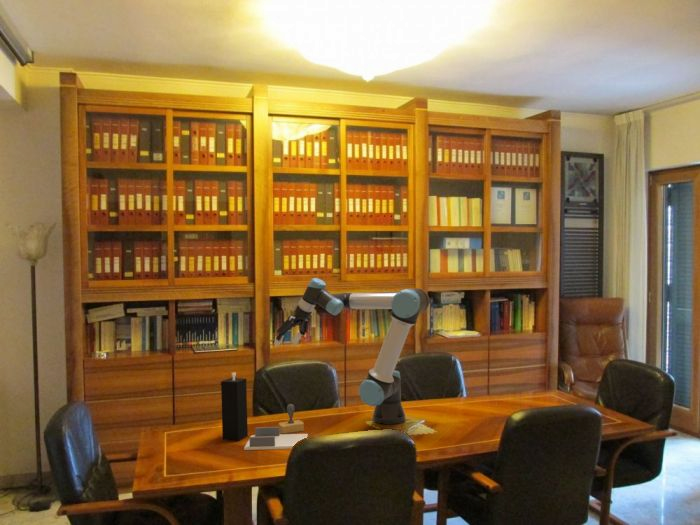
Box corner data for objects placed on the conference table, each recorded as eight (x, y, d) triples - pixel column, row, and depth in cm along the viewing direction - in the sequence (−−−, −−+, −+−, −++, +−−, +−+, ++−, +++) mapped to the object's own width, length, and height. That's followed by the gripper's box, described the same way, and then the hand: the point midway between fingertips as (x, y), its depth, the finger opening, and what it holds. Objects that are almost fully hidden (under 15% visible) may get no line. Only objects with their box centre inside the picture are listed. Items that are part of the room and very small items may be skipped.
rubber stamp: (299, 427, 245) (299, 401, 245) (304, 431, 240) (303, 403, 240) (278, 431, 241) (277, 404, 241) (282, 434, 236) (281, 406, 236)
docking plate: (307, 436, 233) (307, 425, 233) (304, 448, 217) (304, 436, 217) (251, 437, 233) (251, 426, 233) (244, 450, 217) (244, 438, 217)
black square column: (248, 435, 235) (246, 370, 235) (238, 441, 228) (236, 374, 228) (232, 434, 238) (230, 370, 238) (222, 440, 230) (220, 373, 231)
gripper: (315, 303, 271) (296, 338, 276) (282, 303, 250) (262, 341, 255) (325, 312, 267) (306, 347, 272) (293, 313, 246) (272, 351, 251)
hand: (285, 344), depth 264 cm, fingers open, 13 cm apart
